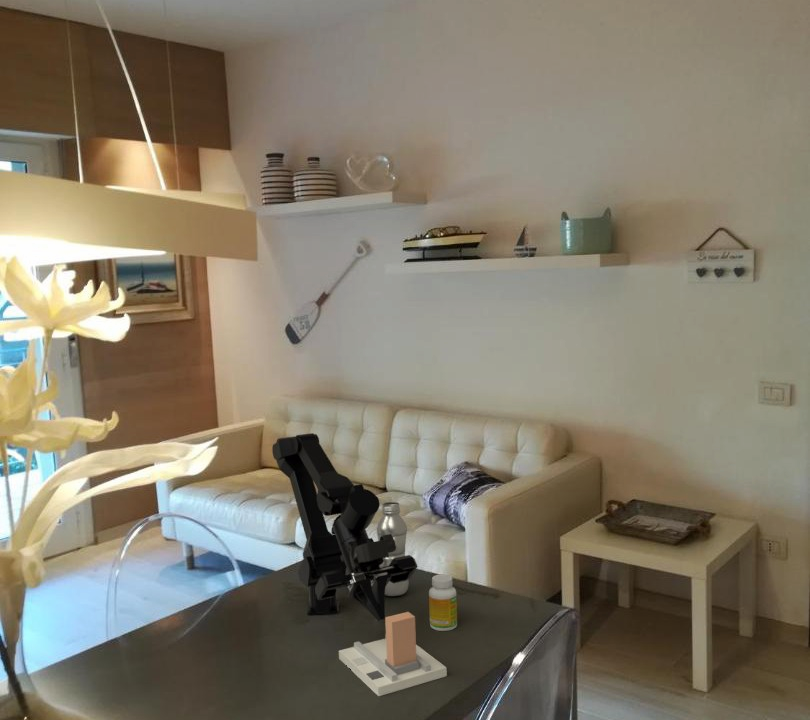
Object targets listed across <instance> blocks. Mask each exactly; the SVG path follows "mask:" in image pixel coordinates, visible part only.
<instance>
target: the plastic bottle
mask: <svg viewBox="0 0 810 720" xmlns="http://www.w3.org/2000/svg"><path fill="white" fill-rule="evenodd" d="M381 513H382V517H381V518H380V519H379V521H378V523H377V526H376V533H377V534H376V535H377V541H380V537H381V536H383V535H388V534H392V537H393V539H394V541H395V545H396V550H395V551H393V552H390V553H389V557H388V558H387V557H386V558H383V560H384V562H383V563H382V564H380V565H379V567H380V568H382V567H386V566H389V565H390V563H391V561H392V560H393V558H397V557H402V556H406V541H407V532H408V526H407V523H406V522H405V520H404V518H403V517H402V516H401V515H400V513H401V509H400V503H399V502H398V501H397V502H396V501H387V502H383V503H382V505H381ZM409 584H410V583H409V579H408V580H406V581H403V582H398V583H394V584H393V583H392V582H390V581H389V582H388V584H387V585H386V587H385V596H386V597H387V596H388V597H397V596H399V597H400V596H402V595H404V594H406V592H407V591H408V589H409Z"/></svg>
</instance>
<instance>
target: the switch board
mask: <svg viewBox="0 0 810 720" xmlns="http://www.w3.org/2000/svg"><path fill="white" fill-rule="evenodd" d="M384 635H385V638H382V639H378V640H374V641H371V642H366V643H362V642H360V641H355V642H353V646H351V647H347V648H344V649H340V650H338V659H339V660H340V661H341V662H342V663H343V664H344V665H345V666H346V665H347V668H348V669H349V668H350V669H351V670H350V669H349V670H350V671H352V673H354V675H355V676H357V678H359V679H360V680H361V682H363V683H364V684H365V685H366V686H367V687H368V688H370V689H371V691H372V692H373V693H374V694H375V695H377V696H378V697H381V696H384V695H388V694H391V693H394V692H399V691H403V690H406V689H409V688H411V687H416V686H418V685H421V684H424V683H425V684H426V683H428V682H432V681H435V680H438V679H441V678H442V679H443V678H445V677H447V676H448V674H447V673H448V671H447V667H446V666H445V665H444V664H442V663H441V662H440V661H439V660H437V659H436V658H434V657H433V656H432V655H431V654H429V653H428V652H426V650H425V649H423V648H422V647H420V646H419V645H417V644H416V660H417V661H418V662H419V669H417V670H414V671H411V672H407V673H404V674H400V675H397V674H396V673H395V672H394V671H393V670H391V669H390V668H389V667H388V666H387V665H386V664H385V659H387V650H386V633H385V634H384Z"/></svg>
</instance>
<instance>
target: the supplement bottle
mask: <svg viewBox="0 0 810 720" xmlns="http://www.w3.org/2000/svg"><path fill="white" fill-rule="evenodd" d="M453 583H454V582H453V576H451V575H448V574H443V573H441V574H436V575H434V576H432V578H431V586H432V587H430V589H429V591H428V600H429V601H428V603H429V604H428V605H429V625H430V626H429V627H431V629H433V630H435V631H438V632H439V631H441V632H447V631H452V630H454V629H456V628H457V627H458V603H457V602H458V601H457V590H456V588H455V587H454V586H453Z"/></svg>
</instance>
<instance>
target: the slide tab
mask: <svg viewBox="0 0 810 720" xmlns="http://www.w3.org/2000/svg"><path fill="white" fill-rule="evenodd" d="M384 622H385V623H384V625H385V634H386V650H387V659H385V664H386V665H387V666H388V667H389V668H390V669H391V670H393V671H394V672H395V673H396V674H397V675H400V674H404V673H407V672H411V671H414V670H417V669H419V662H418V661H417V660H416V645H417V641H416V640H417V637H416V636H417V635H416V634H417V633H416V616H415V615H413V614H412V613H410V612H409V611H406V612H402V613H398V614H394V615H389V616H385V619H384Z"/></svg>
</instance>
